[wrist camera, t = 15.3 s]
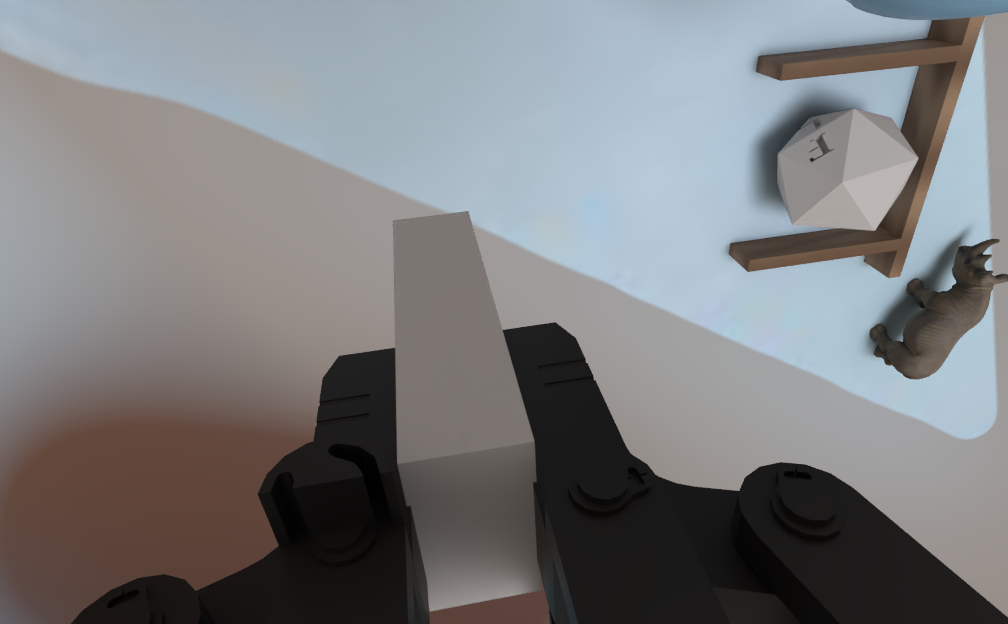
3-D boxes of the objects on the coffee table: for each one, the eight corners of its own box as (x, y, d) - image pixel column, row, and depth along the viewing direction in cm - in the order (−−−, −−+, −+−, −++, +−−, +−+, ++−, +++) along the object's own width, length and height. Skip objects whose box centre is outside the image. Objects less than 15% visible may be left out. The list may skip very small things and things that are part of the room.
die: (867, 80, 44) (875, 82, 36) (927, 181, 44) (949, 206, 36) (759, 146, 48) (745, 161, 40) (815, 237, 49) (813, 270, 41)
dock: (764, 15, 40) (790, 20, 37) (952, -3, 41) (989, 1, 39) (725, 281, 50) (742, 299, 48) (875, 259, 52) (899, 276, 49)
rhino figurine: (986, 232, 52) (1050, 263, 47) (884, 357, 58) (931, 397, 53) (954, 218, 51) (1016, 249, 46) (853, 348, 57) (898, 388, 52)
